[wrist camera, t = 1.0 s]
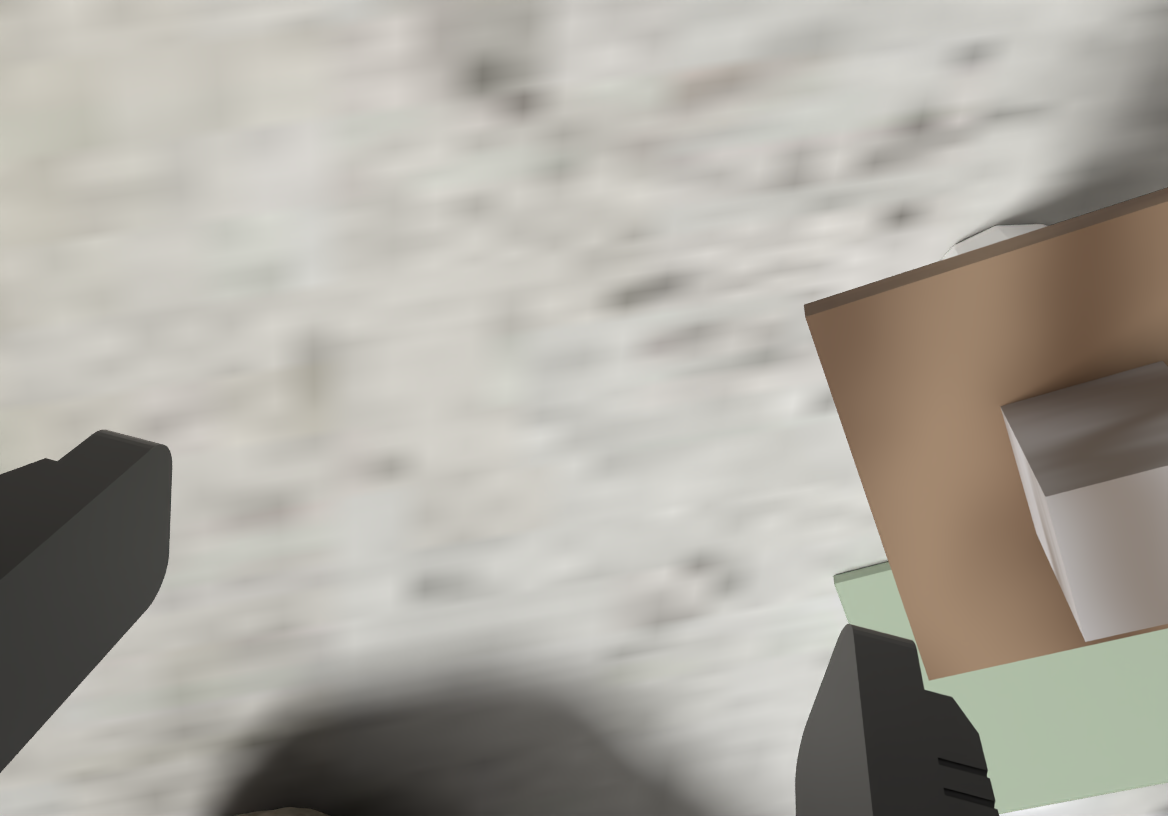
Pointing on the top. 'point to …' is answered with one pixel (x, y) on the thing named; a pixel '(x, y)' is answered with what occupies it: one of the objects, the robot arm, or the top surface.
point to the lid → (1016, 435)
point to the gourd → (286, 812)
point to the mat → (1047, 706)
